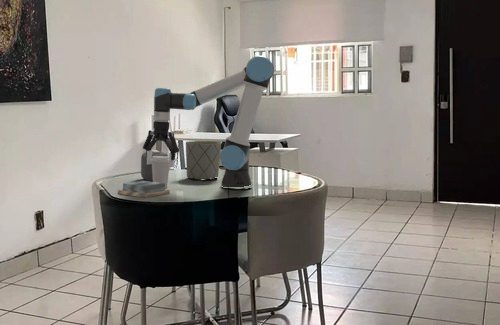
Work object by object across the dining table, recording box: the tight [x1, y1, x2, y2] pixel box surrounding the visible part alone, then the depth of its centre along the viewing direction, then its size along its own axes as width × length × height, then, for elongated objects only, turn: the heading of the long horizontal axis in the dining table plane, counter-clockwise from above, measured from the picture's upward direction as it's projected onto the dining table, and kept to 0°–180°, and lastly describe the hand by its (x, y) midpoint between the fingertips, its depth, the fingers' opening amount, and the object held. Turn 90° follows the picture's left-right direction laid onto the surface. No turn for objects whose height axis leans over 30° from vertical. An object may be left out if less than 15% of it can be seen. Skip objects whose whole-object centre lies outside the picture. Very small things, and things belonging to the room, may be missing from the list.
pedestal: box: [117, 180, 170, 199], centre depth 253 cm, size 16×16×4 cm
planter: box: [185, 140, 222, 180], centre depth 308 cm, size 19×19×20 cm
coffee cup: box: [151, 155, 170, 190], centre depth 271 cm, size 10×10×15 cm
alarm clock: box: [140, 149, 169, 182], centre depth 295 cm, size 16×11×16 cm
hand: (160, 165), depth 270 cm, fingers open, 13 cm apart
